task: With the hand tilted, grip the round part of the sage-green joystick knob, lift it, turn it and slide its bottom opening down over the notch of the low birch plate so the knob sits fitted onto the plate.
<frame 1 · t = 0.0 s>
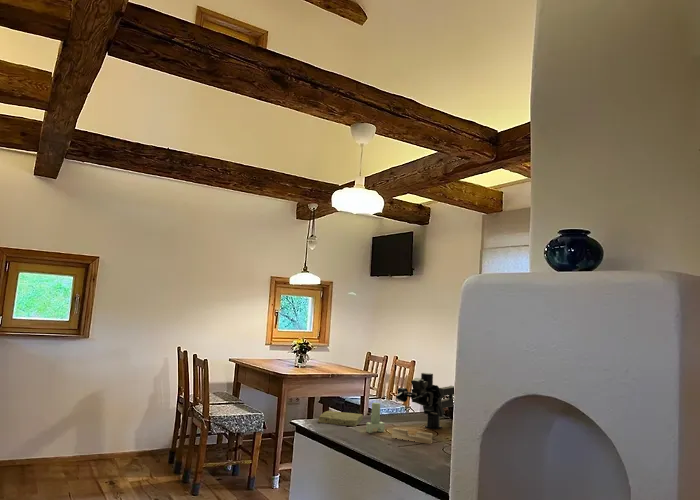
hand: (404, 398, 248), 17 cm above the counter, fingers open, 9 cm apart
green joystick knob: (375, 431, 251), on the counter
decorative tile: (340, 422, 271), on the counter
birch slotted plate: (411, 440, 237), on the counter
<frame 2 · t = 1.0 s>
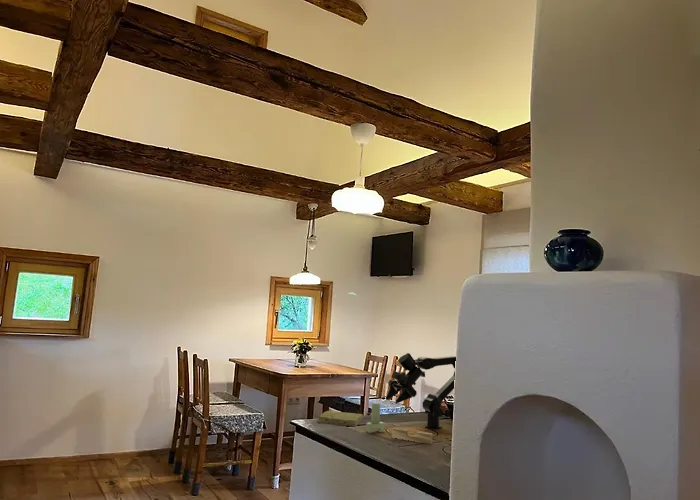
hand: (391, 401, 256), 14 cm above the counter, fingers open, 9 cm apart
nothing on the counter moved.
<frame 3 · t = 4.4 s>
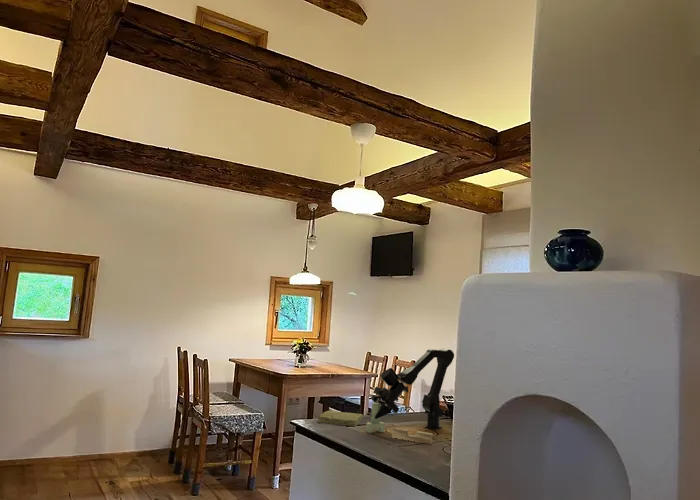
hand: (373, 417, 251), 7 cm above the counter, fingers closed on green joystick knob, 4 cm apart
green joystick knob: (375, 431, 251), on the counter, touching gripper
everything else where it was.
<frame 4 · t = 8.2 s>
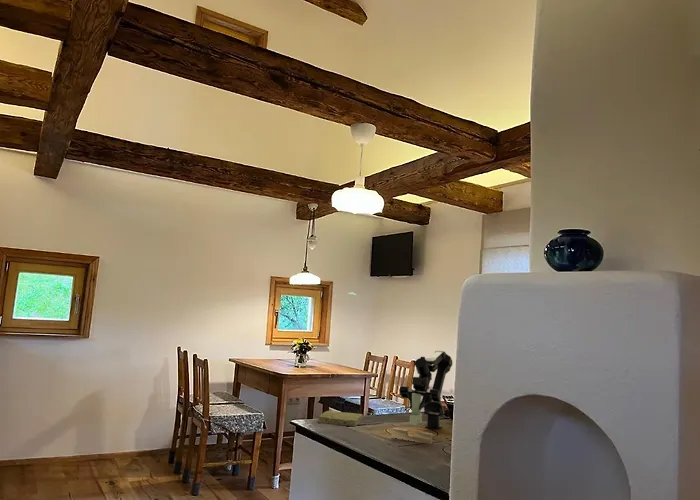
hand: (415, 408, 241), 13 cm above the counter, fingers closed on green joystick knob, 4 cm apart
green joystick knob: (415, 423, 242), point 7 cm above the counter, touching gripper
everything else where it was.
when the fingers open (7 cm above the counter, at t = 12.4 s): green joystick knob stays where it is, resting on birch slotted plate.
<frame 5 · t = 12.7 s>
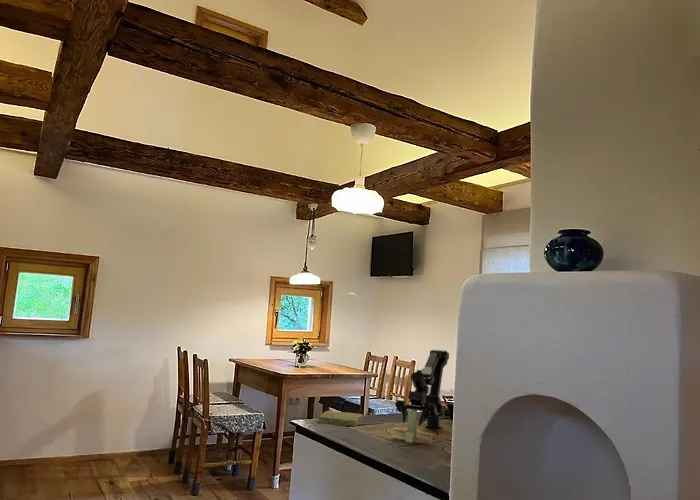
hand: (411, 424, 237), 7 cm above the counter, fingers open, 7 cm apart
green joystick knob: (411, 440, 237), resting on birch slotted plate
everything else where it was.
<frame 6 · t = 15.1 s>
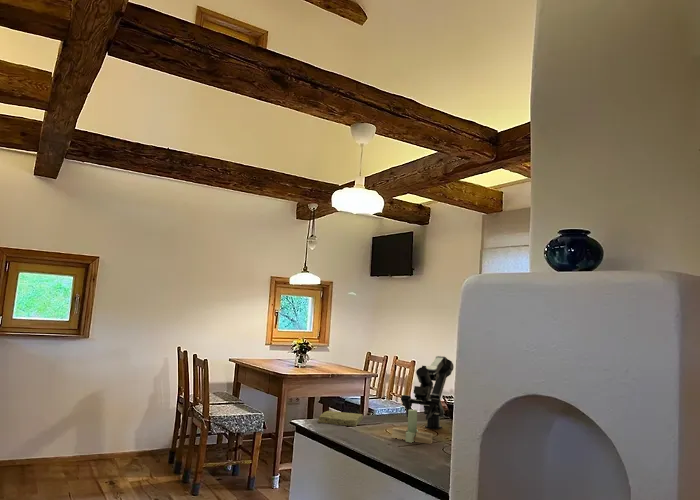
hand: (416, 418, 243), 9 cm above the counter, fingers open, 9 cm apart
nothing on the counter moved.
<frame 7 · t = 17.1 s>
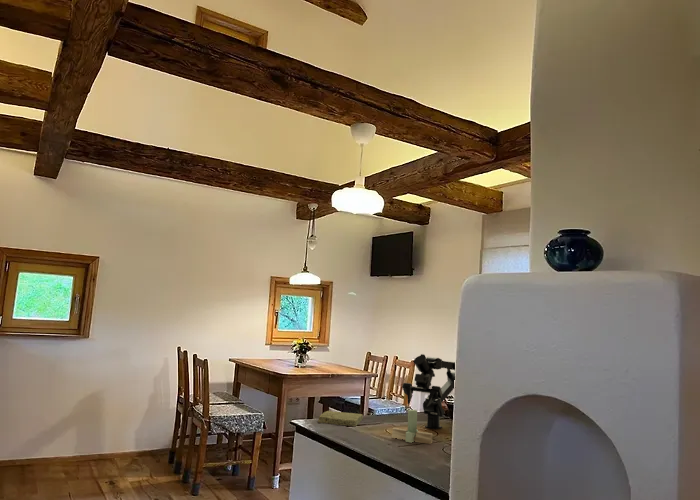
hand: (417, 404, 249), 14 cm above the counter, fingers open, 9 cm apart
nothing on the counter moved.
at the end: green joystick knob 0.0 cm off-centre on the birch slotted plate, point 0.0 cm above the birch slotted plate's base; green joystick knob tilted 0°; the gripper is holding nothing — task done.
